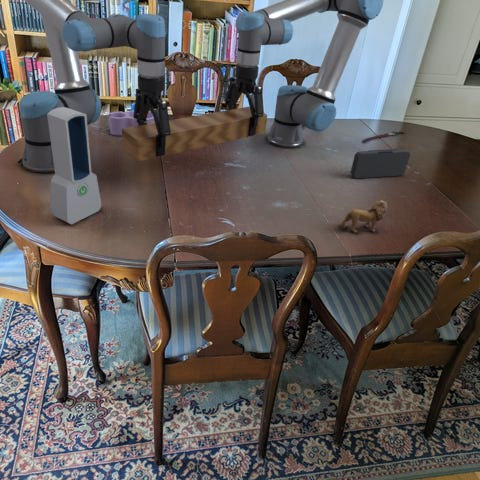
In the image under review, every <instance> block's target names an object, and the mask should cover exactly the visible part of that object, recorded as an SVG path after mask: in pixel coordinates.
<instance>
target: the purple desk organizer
mask: <svg viewBox="0 0 480 480" xmlns="http://www.w3.org/2000/svg"><path fill="white" fill-rule="evenodd" d="M138 114H139V113H138ZM146 119H147V120H146V123H147V124H152V123H155V121H154V117H153V114H152V113H151V111H150V110H149V112H148V115H147V118H146ZM144 123H145V122H144ZM108 126H109V127H108V128H109V131H110V135H113V136H122V129H123V128H129V127H134V126H138V123H137V119H134V109H132V110H129V111H112V112H111V111H110V112H109V113H108Z"/></svg>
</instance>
